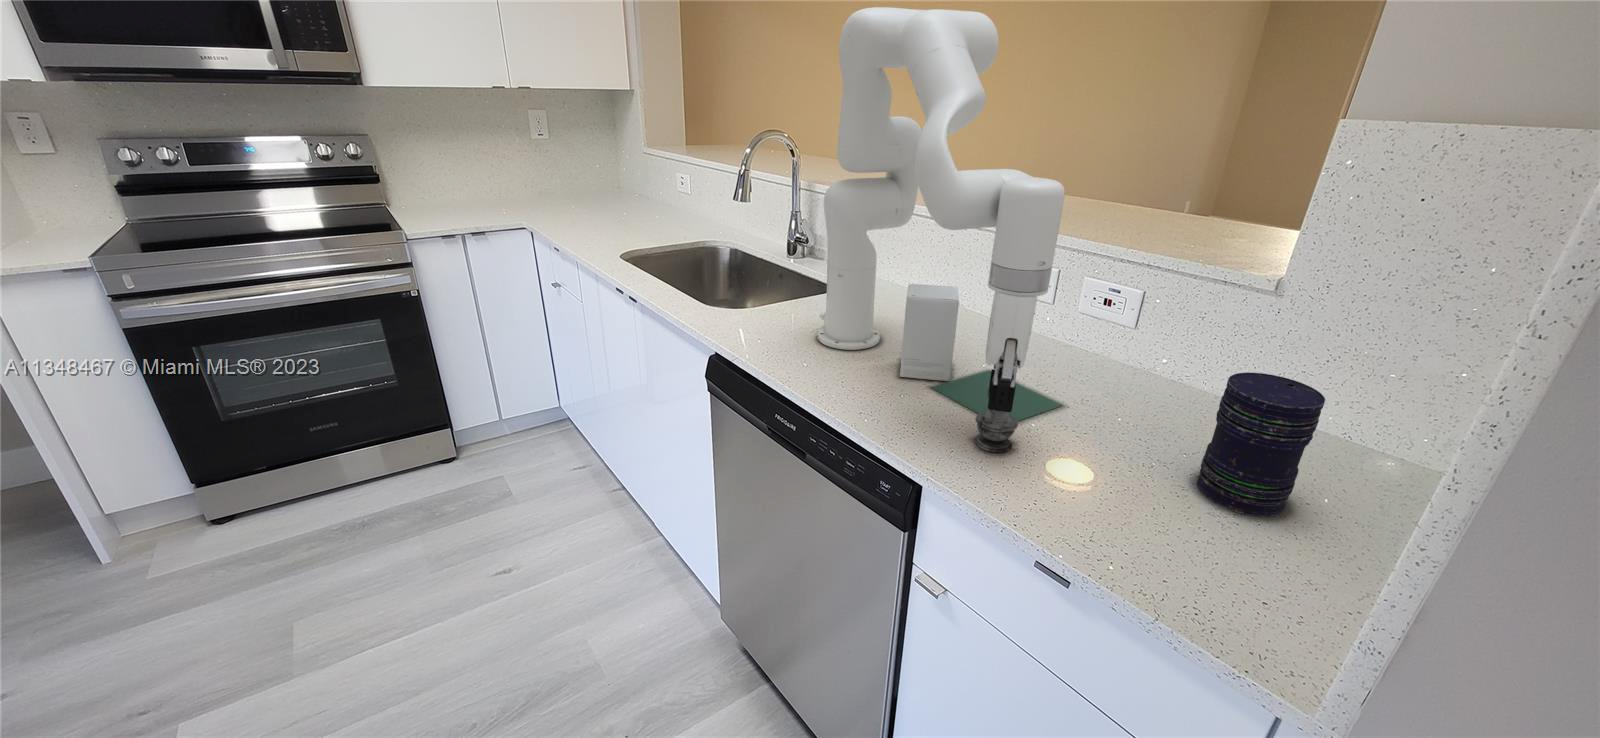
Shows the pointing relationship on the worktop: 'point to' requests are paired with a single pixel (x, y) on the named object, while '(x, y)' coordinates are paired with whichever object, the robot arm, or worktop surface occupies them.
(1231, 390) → the storage jar
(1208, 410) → the worktop surface
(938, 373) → the white product box
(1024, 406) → the mat
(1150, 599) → the worktop surface
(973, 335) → the worktop surface
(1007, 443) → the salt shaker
